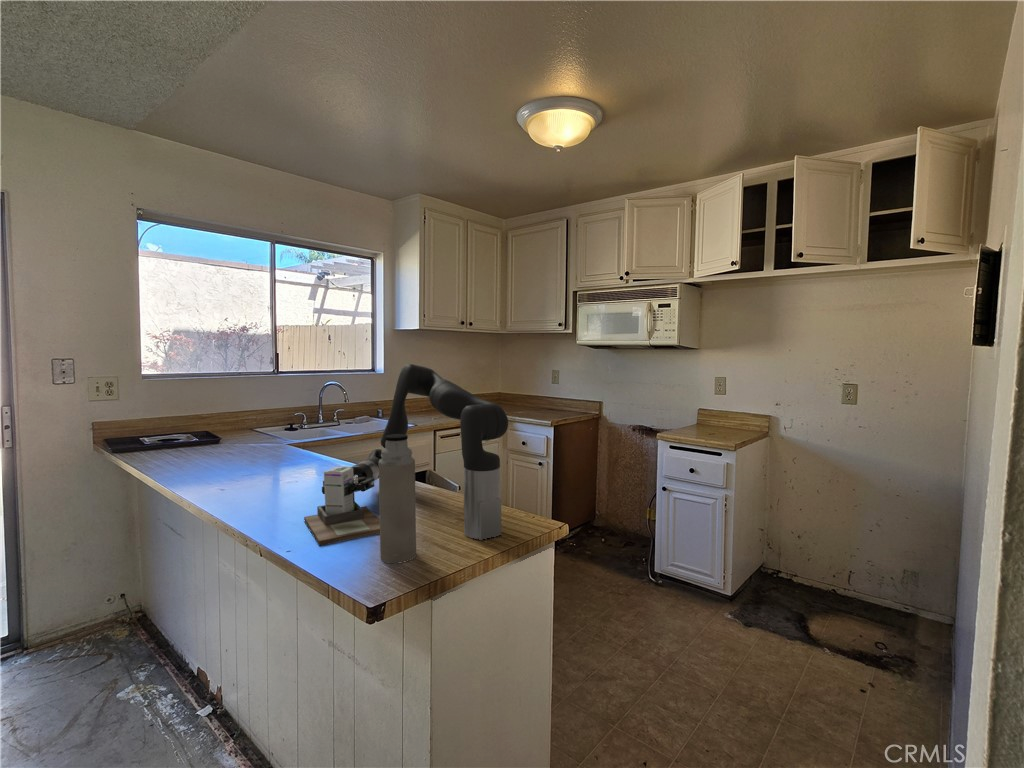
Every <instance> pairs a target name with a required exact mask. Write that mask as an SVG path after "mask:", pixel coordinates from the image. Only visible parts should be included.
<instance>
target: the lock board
mask: <svg viewBox="0 0 1024 768" xmlns="http://www.w3.org/2000/svg"><path fill="white" fill-rule="evenodd" d="M316 513H317V514H312V515H308V516H304V517H303V521H304V520H305V522H306V523H305V522H304V523H305V525H306V524H307V525H308V526H307V525H306V526H307V528H308V527H309V528H308V530H309V529H310V530H311V531H310V530H309V531H310V533H311V532H312V533H311V535H312V534H313V535H314V536H313V535H312V536H313V538H314V537H315V538H314V540H315V541H316V540H317V541H316V543H317V542H318V543H317V544H318V546H319V545H321V546H325V544H326V545H329V544H330V543H331V544H335V543H340V542H344V541H348V540H350V541H351V540H355V539H358V538H363V537H368V536H374V535H378V534H379V535H380V517H379V516H378V515H376V514H375V513H374V512H373V511H372V510H371V509H370V508H368V506H366V505H364V506H360V505H359V504H358V503H357V502H356V501H355V511H350V512H345V513H339V514H333V515H327V514H326V510H325V504H324V505H317V512H316Z"/></svg>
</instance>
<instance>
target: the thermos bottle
mask: <svg viewBox="0 0 1024 768" xmlns="http://www.w3.org/2000/svg"><path fill="white" fill-rule="evenodd" d="M385 440H386V442H385V448H383V449H381V450H382V454H381V457H382V459H380V460H379V478H378V496H379V497H378V501H379V503H378V505H379V506H378V507H379V508H378V509H379V519H380V533H379V545H380V546H379V549H380V553H379V554H380V556H379V557H380V560H381V561H382V562H383V561H384V562H383V563H386V562H388V563H387V564H391V563H398V564H400V563H399V562H404V561H407V560H410V559H412V558H414V557H415V558H416V557H417V518H416V516H417V515H416V505H417V504H416V503H417V502H416V459H415V458H414V457H413V456H412V454H413V452H412V448H410V447H408V445H409V443H408V435H407V434H406V435H404V434H392V435H387V436H385ZM415 558H414V559H415ZM412 560H413V559H412ZM410 561H411V560H410ZM404 563H405V562H404Z"/></svg>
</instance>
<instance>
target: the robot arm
mask: <svg viewBox="0 0 1024 768" xmlns="http://www.w3.org/2000/svg"><path fill="white" fill-rule="evenodd" d="M408 394H413V395H416V396H417V395H418V396H423V397H427V398H429V402H430V405H431V406H432V407H433V409H435V410H436V411H437V412H439V413H440V414H442V416H446V417H448V418H451V419H454V420H460V424H459V425H460V438H461V439H460V440H461V441H460V443H461V455H462V459H463V519H464V520H463V521H464V523H463V525H464V526H463V529H464V532H463V534H464V535H465V536H466V537H467V538H470V539H473V538H474V539H476V540H478V539H479V541H484V540H483V539H485V540H488V539H487V538H490V539H492V538H491V537H494V538H496V537H495V536H498V537H500V536H499V535H501V536H502V499H501V458H500V456H499V455H498V454H496V453H493V452H490V451H486V450H484V447H483V441H490V440H491V441H493V440H497V439H499V438H501V437H503V436H504V435H506V433H507V431H508V428H509V420H508V416H507V414H506V412H505V410H504V409H503V408H502V407H501V406H500V405H499V404H497V403H494V402H493V401H489V400H486V399H483V398H480V397H478V396H476V395H475V394H473V393H471V392H470V391H467V390H466V389H464V388H462V387H461V386H459V385H457V384H455V383H453V382H451V381H450V380H447V379H446V378H445V379H444V378H443V377H442V376H440V375H439V374H438V373H437V372H436V371H434V369H432V368H430V367H425V366H421V365H418V364H417V365H416V364H413V363H412V364H411V363H407V364H405V365H404V366H403V367H402V368H401V370H400V372H399V376H398V378H397V382H396V386H395V391H394V395H393V400H392V403H391V409H390V414H389V417H388V420H387V423H386V425H385V428H384V430H383V433H382V436H381V439H380V445H381V447H382V448H383V449H385V442H386V440H385V436H387V435H392V434H404V435H407V433H408V429H409V419H408V416H407V411H406V400H407V396H408ZM383 449H379V448H377V449H376V448H375V449H373V450H372V451H371V452H370V454H369V456H368V457H367V459H366V460H362V461H360V462H358V463H357V464H354V465H352V466H351V467H352V468H353V474H354V484H351V485H349V486H347V487H346V495H350V494H352V493H353V492H354V493H357V492H363V493H364V492H366V491H368V490H371V489H372V488H373V487H375V481H377V480H379V460H380V459H382V457H381V454H382V450H383ZM321 493H322V495H325V489H324V480H322V486H321Z"/></svg>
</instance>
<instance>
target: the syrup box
mask: <svg viewBox="0 0 1024 768" xmlns="http://www.w3.org/2000/svg"><path fill="white" fill-rule="evenodd" d="M323 481H324V489H325V494H324V505H325V510H326V514H327V515H333V514H339V513H345V512H350V511H355V502H356V500H355V492H353V493H352V494H350V495H346V487H347V486H349V485H351V484H354V474H353V468H352V466H334V467H333V468H331V469H328V470H326V471H323Z"/></svg>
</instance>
